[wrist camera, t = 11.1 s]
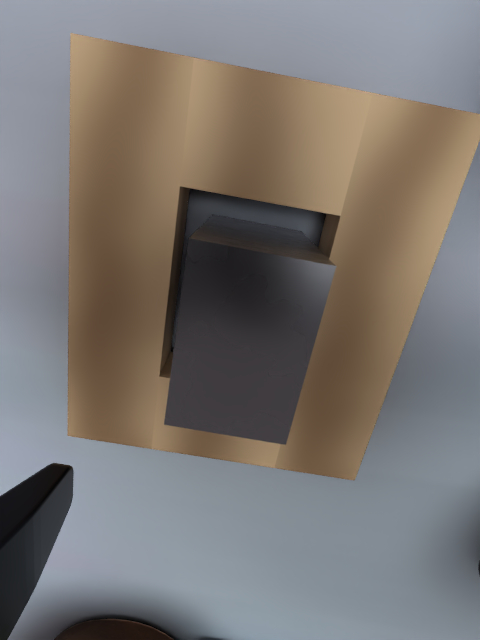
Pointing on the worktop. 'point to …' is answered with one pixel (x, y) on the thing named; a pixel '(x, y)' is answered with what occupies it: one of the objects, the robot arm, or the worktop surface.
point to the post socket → (257, 184)
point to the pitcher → (112, 631)
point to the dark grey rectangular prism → (245, 328)
